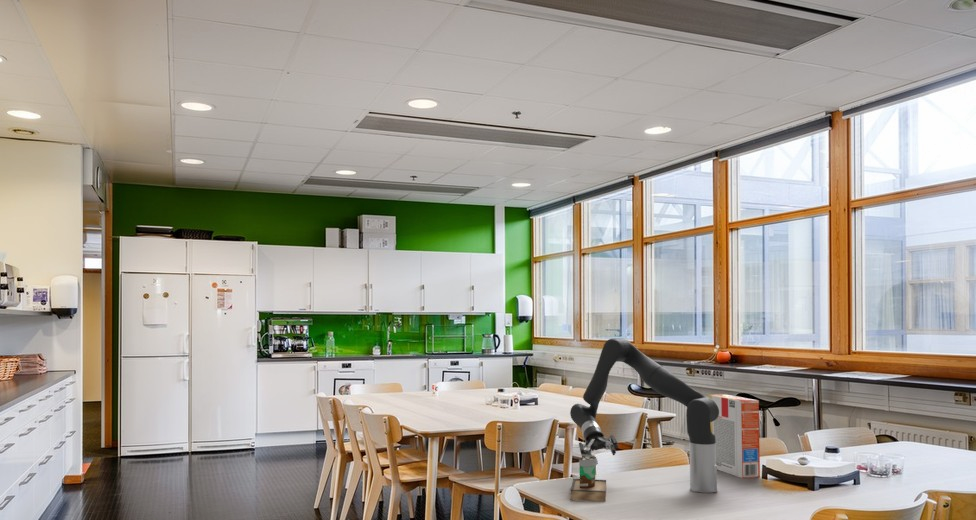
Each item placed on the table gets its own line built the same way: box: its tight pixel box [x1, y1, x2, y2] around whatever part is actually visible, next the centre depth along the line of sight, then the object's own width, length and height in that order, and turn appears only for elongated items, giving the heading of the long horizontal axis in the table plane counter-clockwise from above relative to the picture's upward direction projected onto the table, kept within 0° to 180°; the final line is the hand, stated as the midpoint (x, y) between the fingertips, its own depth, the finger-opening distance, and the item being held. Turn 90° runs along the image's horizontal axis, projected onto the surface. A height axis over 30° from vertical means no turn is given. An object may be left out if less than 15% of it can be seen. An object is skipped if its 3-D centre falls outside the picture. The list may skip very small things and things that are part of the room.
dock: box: [570, 478, 607, 502], centre depth 277 cm, size 12×18×3 cm, turn 171°
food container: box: [578, 454, 599, 488], centre depth 277 cm, size 12×6×10 cm, turn 169°
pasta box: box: [708, 393, 761, 479], centre depth 318 cm, size 23×8×30 cm, turn 17°
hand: (602, 455), depth 289 cm, fingers open, 8 cm apart
